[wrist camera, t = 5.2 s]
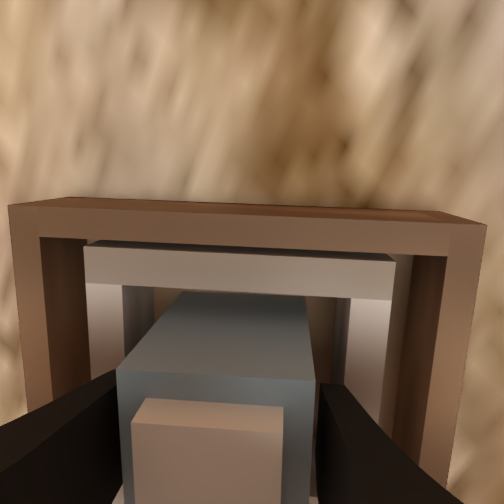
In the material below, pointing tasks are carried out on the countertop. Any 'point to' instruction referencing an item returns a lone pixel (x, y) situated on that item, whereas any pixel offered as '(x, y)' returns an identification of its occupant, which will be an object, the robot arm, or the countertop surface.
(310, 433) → the block
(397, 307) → the box
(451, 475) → the countertop surface
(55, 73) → the countertop surface
